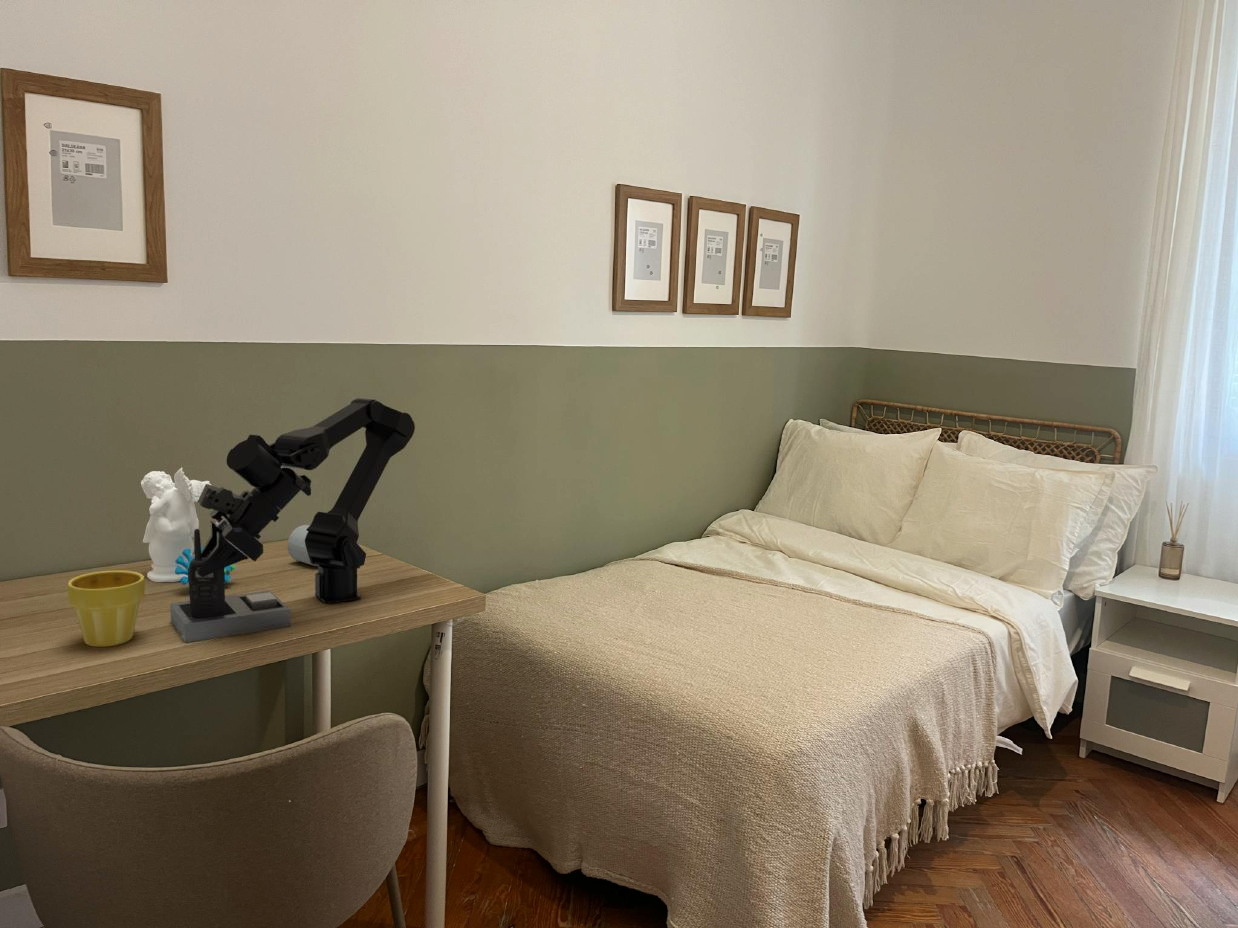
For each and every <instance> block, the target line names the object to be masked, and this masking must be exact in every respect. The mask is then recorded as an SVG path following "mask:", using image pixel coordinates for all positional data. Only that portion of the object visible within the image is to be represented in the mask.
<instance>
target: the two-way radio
mask: <svg viewBox="0 0 1238 928" xmlns="http://www.w3.org/2000/svg"><path fill="white" fill-rule="evenodd" d="M200 532H201V531H200V529H195V530H194V536H193V539H194V540H193V544H194V551H195V552H194V551H193V552H194V557H195V558H194V559H192V560H191V562H190V565H189V568H188V587H189V589H188V590H189V594H188V595H189V601H190V606H191V616H192V617H193V618H195V619H203V618H210V617H217V616H223V615H224V613H225V596H226V594H225V593H226V588H225V587H226V586H225V583H224V581H225V571H224V568H223V569H220V570H218V571H216V572H213V573H211V574H209V575H207V576H204V577H201V576H200V575H198V573H197V572H198V571H199V569H200V568H201V566H202V565H203V563H204V562H205V561H206V559H207V558H208V556H209V555H210V554H211V552H212V551H213V550H212V551H210V552H209V555H206V556H205V557H201V547H202V546H201V545H202V543H201V533H200Z"/></svg>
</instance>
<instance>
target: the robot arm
mask: <svg viewBox="0 0 1238 928" xmlns="http://www.w3.org/2000/svg"><path fill="white" fill-rule="evenodd" d="M415 424H416V423H415V421H414V420H413V418H412V416H411V414H410V413H408V412H402V411H399V410H397V409H394V408H392V407H389V406H387V405H385V404H383V403H381V402H380V401H378V400H377V399H373V398H362V397H361V398H360V397H359V398H355V399H353V400H352V401H351V402H350V404H347V405H346V406H344V407H342V408H341V409H339V410H338V411H336V412H334V413H333V414H331V415H329V416H327V417H326V418H325V419H323V420H321V421H319V422H318V423H317V424H314V425H313V426H309V427H308V428H307V427H306V428H299V429H294V430H292V431H291V430H290V431H289V432H286V433H284V434H281V435H280V436H278V437H277V438H276V440H275V442H273V443H271V444H268V443H267V442H266V440H265V439H264V438H263V436H261V435H258V434H251V433H250V434H249V435H248V437H247V439H245V440H243V441H241V442H239V443H237V444H236V445H235V446H233V448H231V449H230V450H229V451H228V454H227V456H226V465H227V467H228V468H229V469H230V470H232V471H233V472H234V473H235V474H236V475H238V476H239V477H240V478H242V480H244V482H246V483H247V484H249V485H250V486H251V487H253V488H252V489H251V490H250V491H249V490H243V491H242V492H241V494H239V495H238V494H236V493H233V491H232V490H231V489H227V488H225V487H224V486H222V487H217V486H214V485H213V484H211V485H209V484H210V483H209V484H206V485H205V487H204V489H203V491H202V493H201V496H200V498H199V500H198V502H197V503H199V506H201V507H202V508H205V509H207V510H212V511H211V512H210V513H209V516H210V517H211V518H212V519H213V520H216V521H215V522H213V520H209V525H210V527H209V528H210V536H209V537H208V540H207V542H206V543H205V545H204V546H203V547H202V548H203V550H202V551H201V557H205V556H206V555H209V552H210V551H212V550H213V551H212V552H211V554H210V555H209V556H208V558H207V559H206V561H205V562H204V563H203V565H202V566H201V568H200V569H199V571H198V572H197V573H198V575H200V576H201V577H204V576H207V575H209V574H211V573H213V572H216V571H218V570H220V569H223V568H225V567H227V566H230V565H232V564H237V563H240V562H242V561H245V560H246V561H247V560H248V559H250V560H252V561H253V562H256V561H257V560H258V559H259V558H260V557H261V556H262V555H263V553H264V544H263V543H262V542H261V540H260V539H261V538H262V536H261V533H262V531H264V529H266V527H267V526H268V525H270V523H271V522H272V521H273V522H274V523H276V522H277V521H278V520H279V518H280V517H279V516H278V515H279V514H280V513H281V512H282V510H283V509H285V507H286V506H287V505H288V504H289V503H290V502H291V501H293V499H294V498H295V497H296V496H298V494H299V493H300V491H301V492H303V494H305V495H306V496H308V497H310V496H311V495H312V489H311V488H312V487H311V485H312V479H310V478H309V477H308V476H307V475H305V474H303V475H299V474H298V473H297V472H295V470H294V469H298V470H305V471H313V470H316V469H317V468H318V467H319V466H320V465H321V464H322V463H324V461H326V460H327V458H328V457H329V455H330V451H331V449H332V448H334V446H336V445H337V444H339V443H341V442H342V441H344V440H345V439H347V438H348V437H350V436H351V435H353V434H355V433H356V432H358V431H359V430H361V429H365V430H364V436H365V448H364V449H363V452H362V453H361V455H360V457H359V458H358V460H357V462H356V464H355V465H354V468H353V470H352V472H351V473H350V476H349V477H348V479H347V481H346V483H345V485H344V487H343V488H342V490H341V492H340V494H339V496H338V498H337V499H336V501H335V503H334V505H333V507H332V508H331V509H330V510H328V511H327V512H324V511H317V512H316V514H315V515H314V517H313V519H312V522H311V523H310V524H309V525H310V526H309V527H308V528H307V529H306V531H308V533H307V535H306V537H305V546H306V549H307V552H308V556H309V559H310V562H311V564H318V566H317V572H316V573H315V574H314V579H315V580H314V581H315V582H314V583H315V584H314V589H315V590H314V591H315V592H314V595H315V596H316V597H317V598H318V599H319V600H321V601H322V602H323V603H324V604H334V603H340V602H347V601H355V600H360V599H361V597H362V596H361V595H360V594H359V593H358V570H359V569H360V568H361V567H362V566H365V562H366V558H367V552H366V551H364V549H363V548H362V547H361V546H360V545H359V544H358V540H359V537H360V532H359V531H360V530H359V525H358V522H359V520H360V517H361V515H362V513H363V512H364V510H365V508H366V505H367V503H368V502H369V499H370V498H371V496H372V494H373V492H374V490H375V488H376V486H377V484H378V482H379V481H380V478H381V476H382V474H383V473H384V471H385V469H386V467H387V465H388V463H389V461H390V460H391V458H392V457H393V456H395V455H396V454H398V453H399V452H401V451H403V450H404V449H405V448H406V446H407V445H408V443H409V442H410V441H411V439H412V438H413V436H414V433H415V428H416V425H415Z"/></svg>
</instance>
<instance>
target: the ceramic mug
mask: <svg viewBox="0 0 1238 928" xmlns="http://www.w3.org/2000/svg"><path fill="white" fill-rule="evenodd" d="M310 525H311V524H301V525H299V526H298V527H296V528H294V529H293V531H292V532H291V533H290V535H289V537H288V539H287V540H288V541H287V551H288V554H289V556H290V557H291V558H292V559H293V560H295V561H296V562H297V561H298V562H301V563H304V564H307V565H310V566H313V567H318V564H311V562H310V559H309V556H308V552H307V549H306V546H305V537H306V535H307V533H308V531H306V529H307V528H308V527H309V526H310Z"/></svg>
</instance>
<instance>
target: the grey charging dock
mask: <svg viewBox="0 0 1238 928" xmlns="http://www.w3.org/2000/svg"><path fill="white" fill-rule="evenodd" d="M269 592H270V593H271V594H273V595H274V596H275V597H276V598H277V608H274V609H267V610H260V611H252V610H251V609H250V608H249V607H248V606H247V605H246V595H254V594H261V593H269ZM169 605H170V606H169V607H170V608H169V609H170V622H171V624H172V625H173V626H174V628H175V629H176V631H177V632H178V634H179V636H180V637H181V638H182V641H184V643H192V642H200V641H204V640H205V641H207V640H211V639H218V638H219V639H220V638H224V637H230V635H231V636H236V635H237V636H239V635H243V634H242V633H245V634H250V633H251V634H252V633H256V632H263V631H262V630H265V631H269V629H271V630H276V629H282V628H283V627H284V628H291V609H290V608H289V606H288V605H286V604H285V603H284V602H283V601H282V600H281V599H280V598H279V597H278V596H276V594H275V593H273V591H272V590H264V591H256V592H247V593H242V594H241V593H240V594H234V595H233V594H232V595H227V596H226V595H225V613H224V615H223V616H217V617H210V618H203V619H195V618H193V617H192V616H191V606H190V600H185V601H180V602H171V603H169ZM284 628H283V629H284Z"/></svg>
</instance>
